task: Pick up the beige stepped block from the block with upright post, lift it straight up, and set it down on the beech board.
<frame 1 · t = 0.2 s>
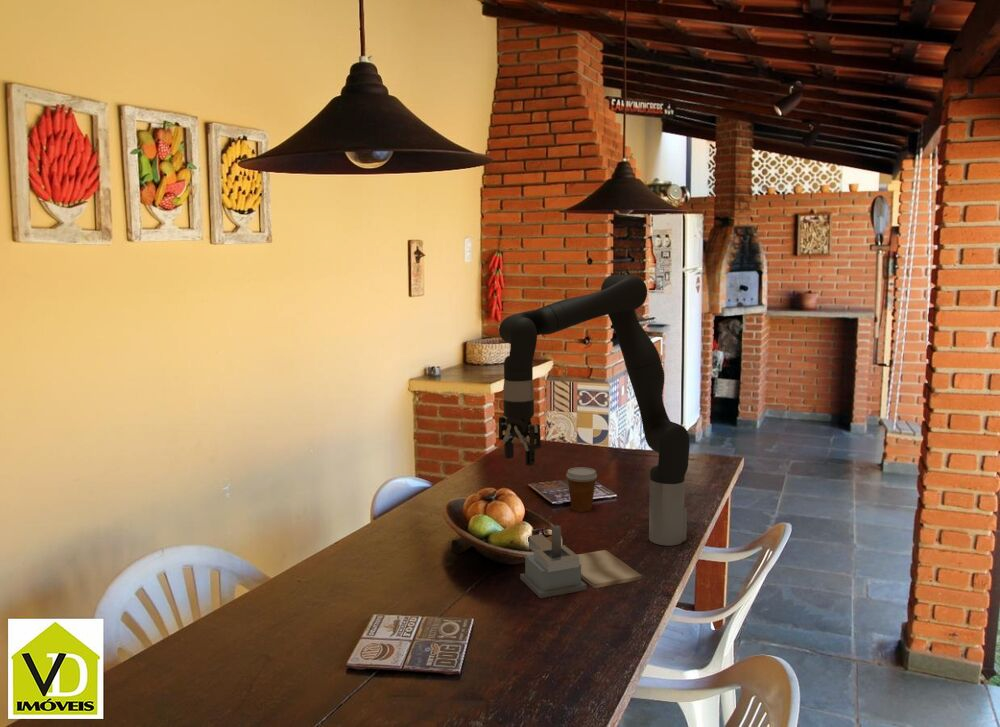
hand: (519, 461, 196), 27 cm above the table, tool pointing down, fingers open, 8 cm apart
block with upright post: (552, 584, 189), on the table
disposable coffee cup: (581, 509, 244), on the table
beige stepped block: (547, 555, 191), point 6 cm above the table, touching block with upright post
hand tool: (479, 544, 216), on the table
beech board: (600, 570, 197), on the table
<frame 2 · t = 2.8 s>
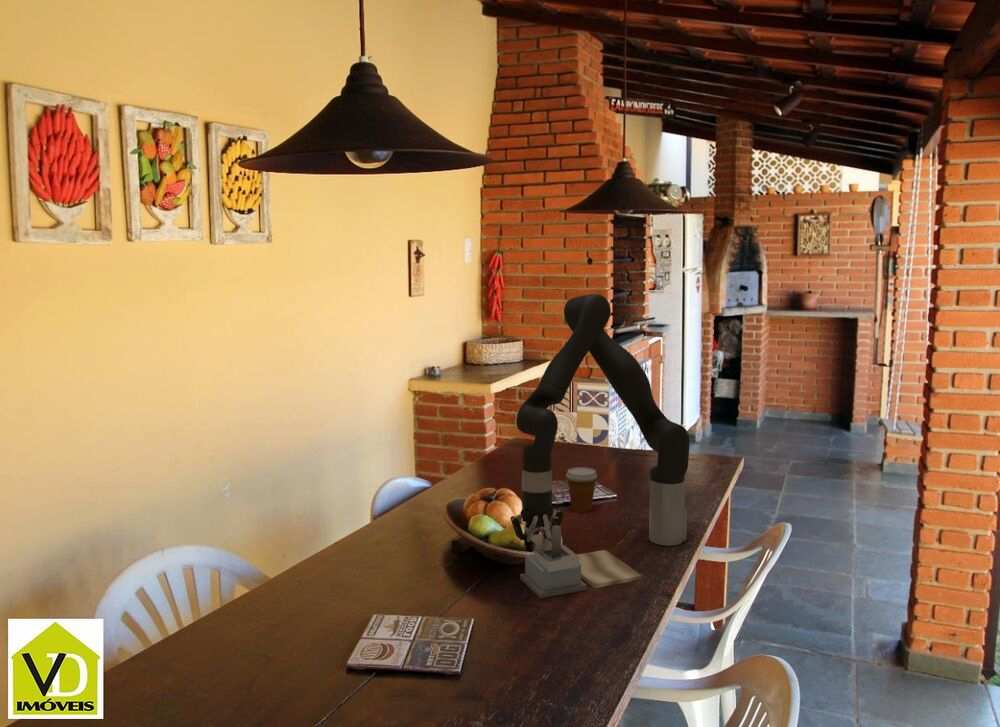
hand: (537, 552, 197), 5 cm above the table, tool pointing down, fingers closed on beige stepped block, 4 cm apart
beige stepped block: (547, 555, 191), point 6 cm above the table, touching gripper, block with upright post
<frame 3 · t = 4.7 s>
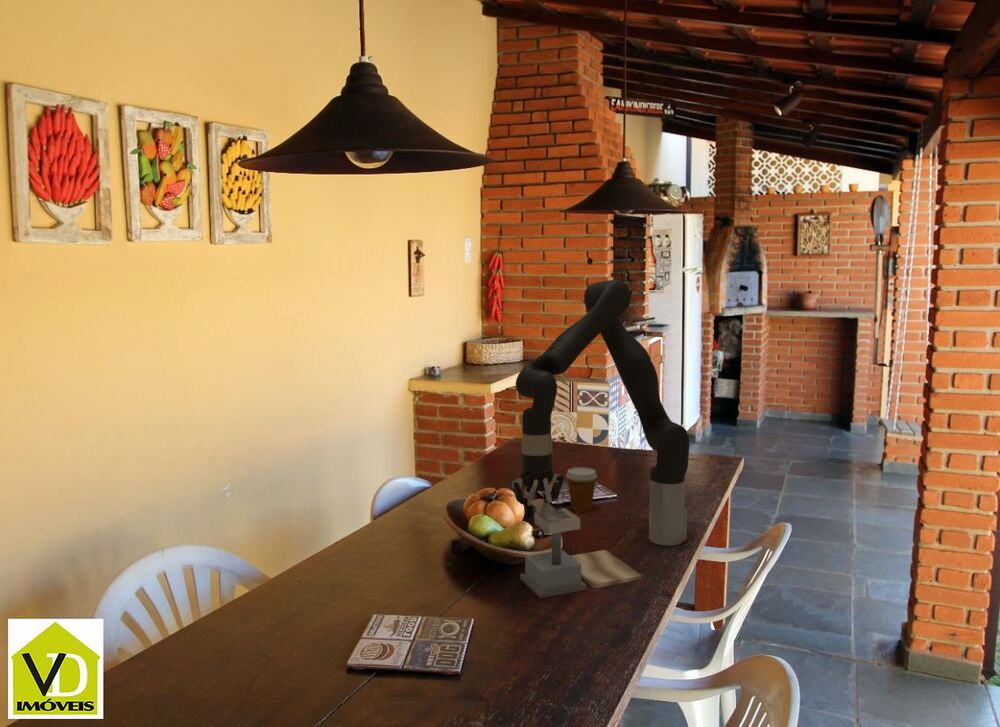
hand: (537, 517, 195), 14 cm above the table, tool pointing down, fingers closed on beige stepped block, 4 cm apart
beige stepped block: (548, 519, 190), point 15 cm above the table, touching gripper
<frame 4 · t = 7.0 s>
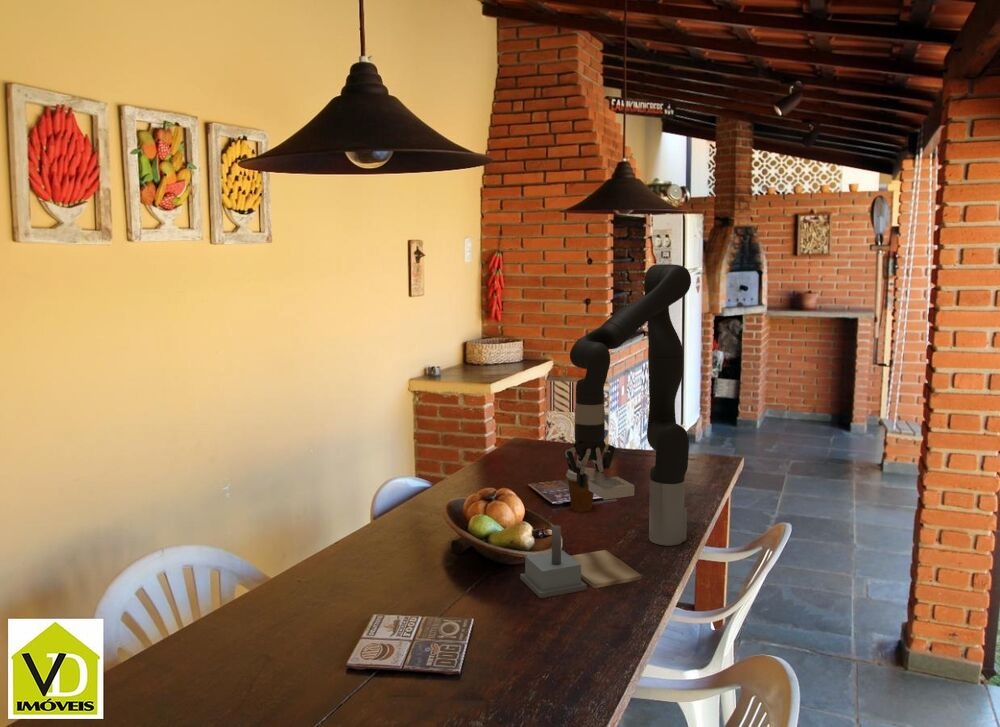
hand: (589, 486, 200), 20 cm above the table, tool pointing down, fingers closed on beige stepped block, 4 cm apart
beige stepped block: (601, 487, 194), point 21 cm above the table, touching gripper
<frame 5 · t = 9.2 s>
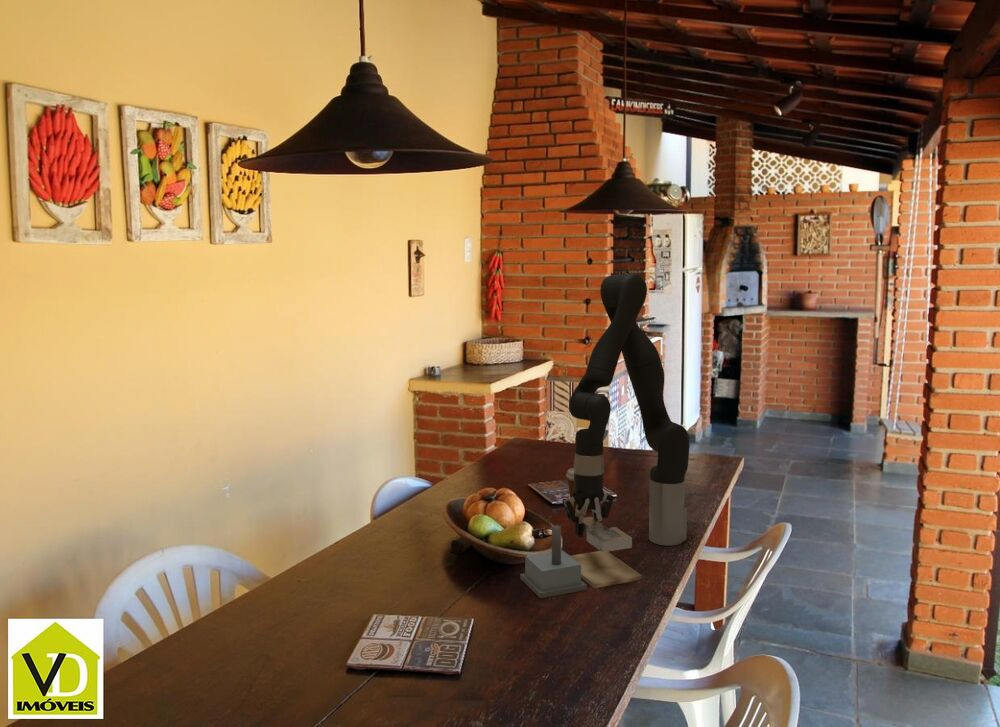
hand: (587, 535, 202), 7 cm above the table, tool pointing down, fingers closed on beige stepped block, 4 cm apart
beige stepped block: (599, 537, 196), point 8 cm above the table, touching gripper
when the fingers open (2 cm above the table, at t = 11.1 s): beige stepped block drops 2 cm, resting on beech board.
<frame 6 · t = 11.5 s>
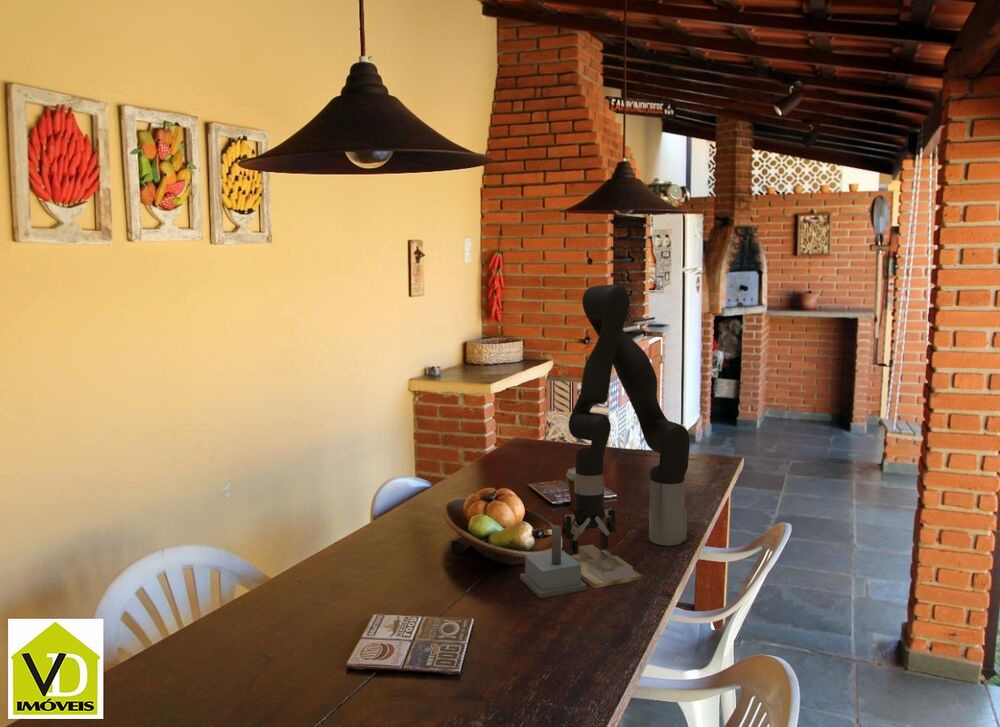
hand: (588, 550, 202), 3 cm above the table, tool pointing down, fingers open, 8 cm apart
beige stepped block: (600, 565, 197), point 1 cm above the table, touching beech board
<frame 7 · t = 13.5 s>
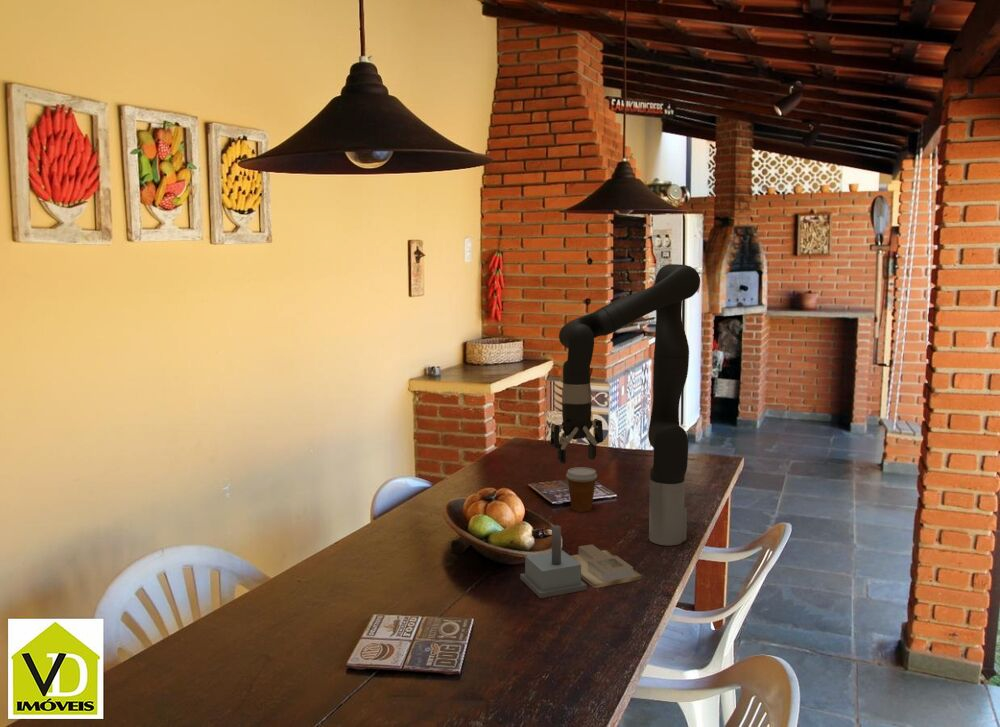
hand: (577, 461, 205), 25 cm above the table, tool pointing down, fingers open, 8 cm apart
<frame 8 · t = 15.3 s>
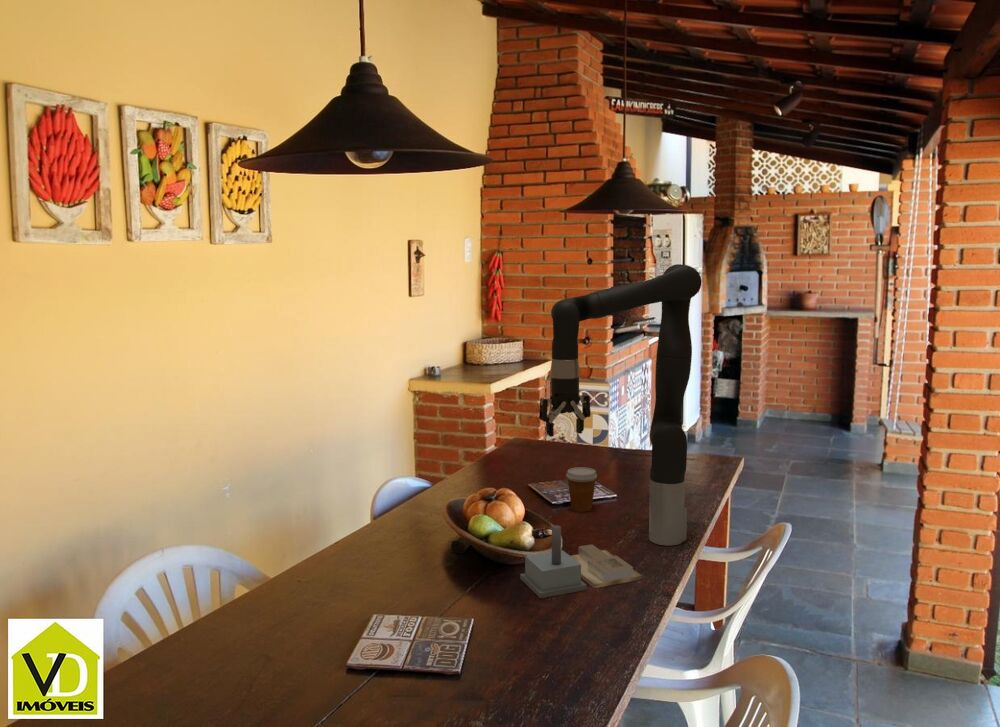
hand: (564, 434, 212), 30 cm above the table, tool pointing down, fingers open, 8 cm apart
at the end: beige stepped block inside the target area on the beech board (0.1 cm from its centre), point 1.0 cm above the beech board's base; beige stepped block touching beech board; the gripper is holding nothing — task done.
